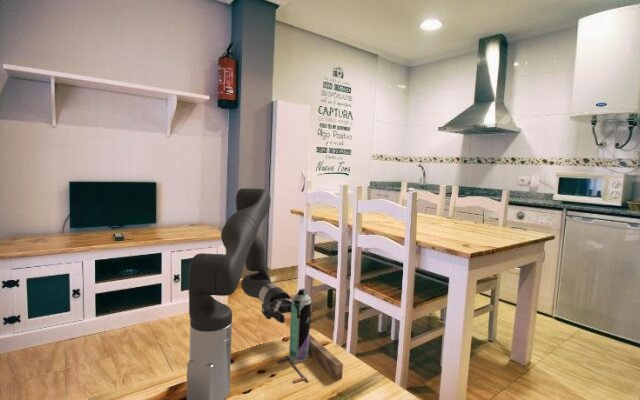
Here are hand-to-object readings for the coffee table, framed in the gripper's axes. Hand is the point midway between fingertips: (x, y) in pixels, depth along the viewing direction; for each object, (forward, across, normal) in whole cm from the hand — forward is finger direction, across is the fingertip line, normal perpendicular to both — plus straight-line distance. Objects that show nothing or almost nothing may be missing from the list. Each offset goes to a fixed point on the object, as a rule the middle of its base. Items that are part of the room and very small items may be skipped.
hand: (296, 317), depth 101 cm
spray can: (+2, 0, +11) cm, 11 cm away
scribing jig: (+7, 0, +11) cm, 13 cm away
